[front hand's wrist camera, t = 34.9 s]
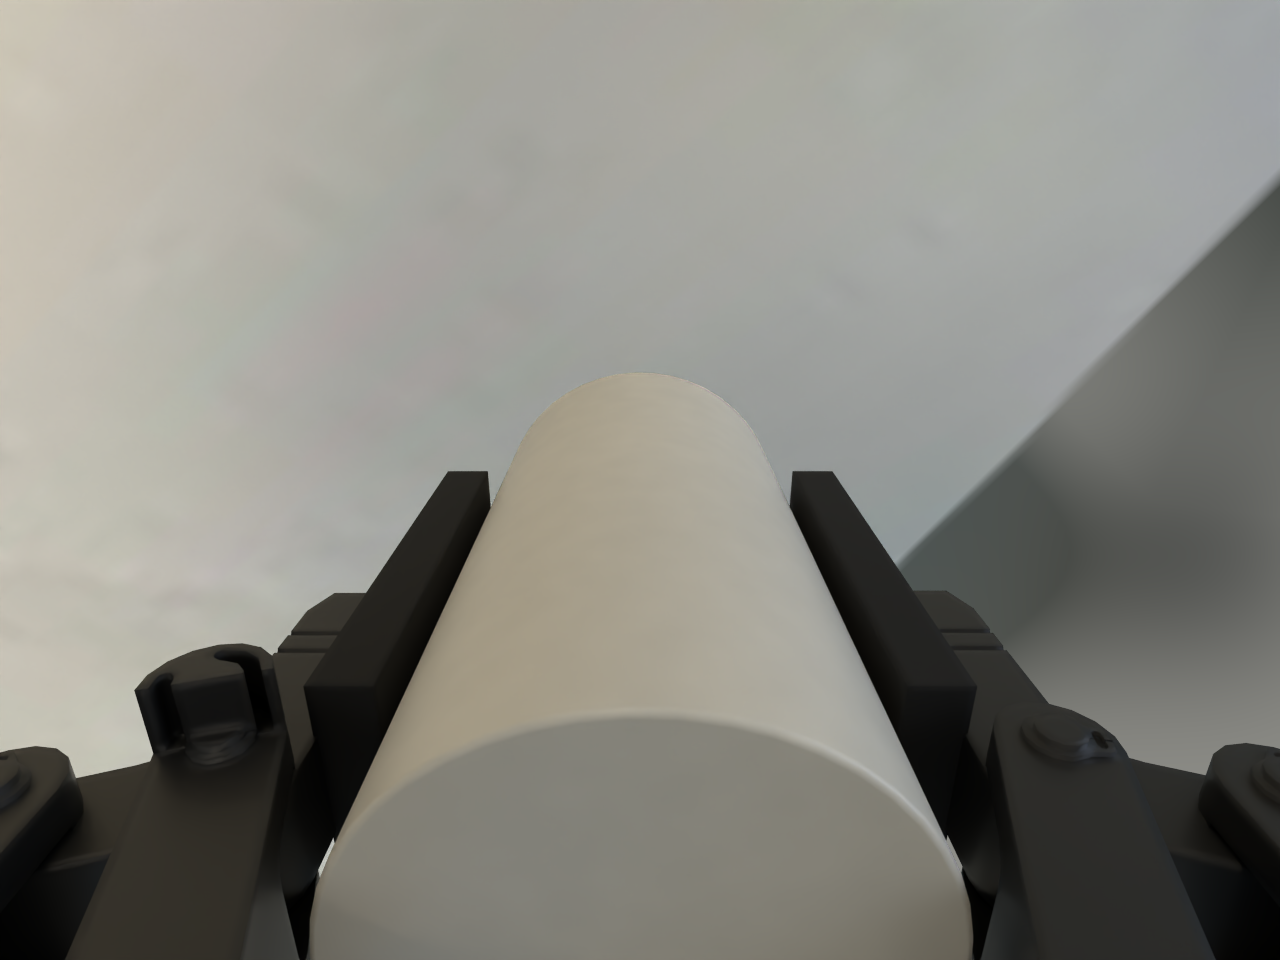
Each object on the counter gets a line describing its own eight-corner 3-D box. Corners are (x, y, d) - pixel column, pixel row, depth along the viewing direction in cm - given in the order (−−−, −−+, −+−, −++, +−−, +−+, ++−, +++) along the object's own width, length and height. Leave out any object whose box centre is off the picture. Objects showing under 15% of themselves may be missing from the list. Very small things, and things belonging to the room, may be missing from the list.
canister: (660, 313, 15) (702, 567, 5) (822, 516, 17) (1097, 1012, 7) (454, 482, 16) (164, 948, 6) (623, 654, 18) (603, 1239, 8)
